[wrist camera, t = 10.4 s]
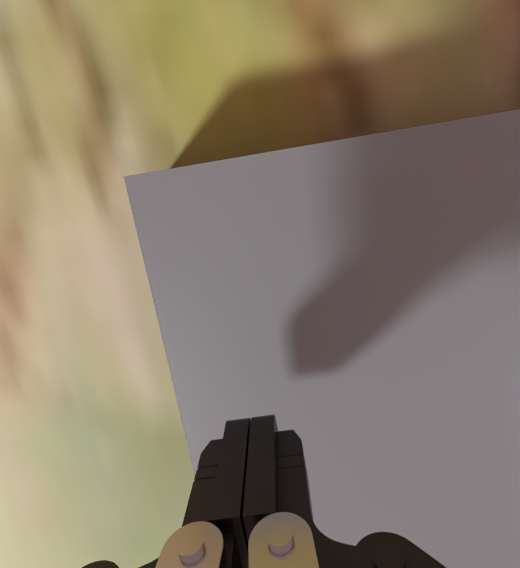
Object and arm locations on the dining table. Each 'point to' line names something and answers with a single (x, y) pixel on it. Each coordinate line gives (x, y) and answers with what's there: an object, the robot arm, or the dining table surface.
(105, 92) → the dining table surface
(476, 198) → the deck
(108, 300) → the dining table surface
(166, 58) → the dining table surface
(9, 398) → the dining table surface
